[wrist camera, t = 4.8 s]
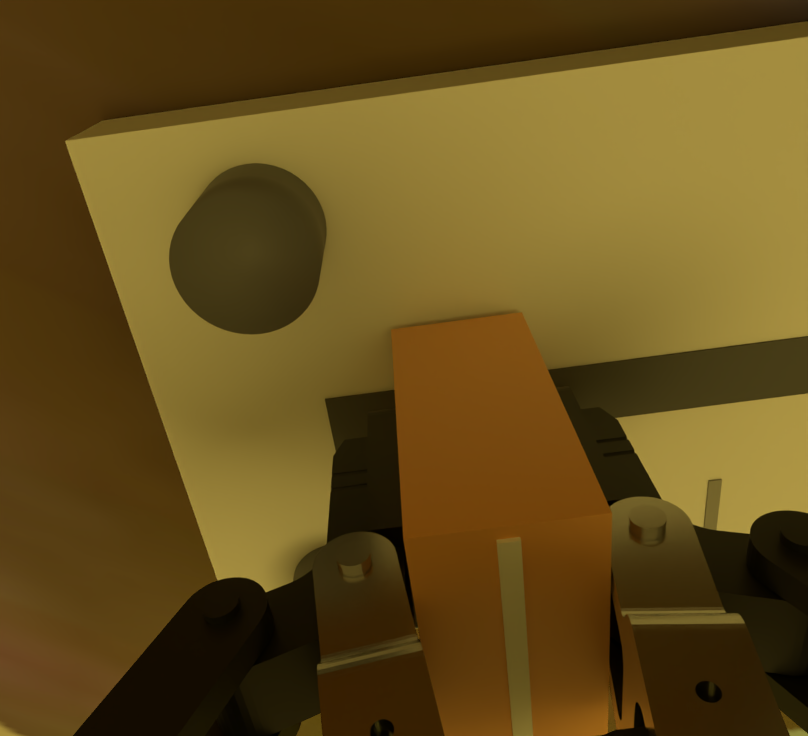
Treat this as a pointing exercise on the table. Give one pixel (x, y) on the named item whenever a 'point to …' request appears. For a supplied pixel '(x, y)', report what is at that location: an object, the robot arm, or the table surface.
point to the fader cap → (501, 533)
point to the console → (472, 267)
